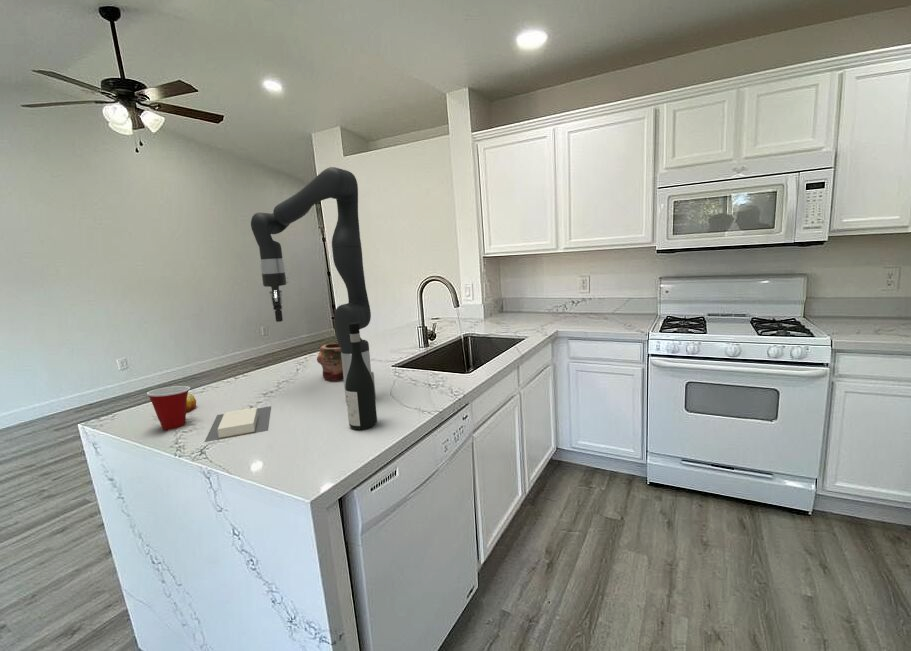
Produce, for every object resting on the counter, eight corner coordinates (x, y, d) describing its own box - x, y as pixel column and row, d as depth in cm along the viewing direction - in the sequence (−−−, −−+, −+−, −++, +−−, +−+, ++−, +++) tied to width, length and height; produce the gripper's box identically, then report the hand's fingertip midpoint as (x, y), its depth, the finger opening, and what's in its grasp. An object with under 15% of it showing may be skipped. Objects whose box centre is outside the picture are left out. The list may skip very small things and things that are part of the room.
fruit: (204, 408, 143) (193, 388, 140) (172, 427, 136) (159, 406, 133) (193, 401, 150) (182, 382, 147) (161, 418, 143) (149, 399, 140)
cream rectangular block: (224, 412, 129) (217, 429, 116) (257, 407, 132) (253, 423, 120) (226, 421, 130) (219, 438, 117) (258, 415, 133) (254, 432, 120)
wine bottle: (353, 433, 117) (342, 326, 112) (346, 423, 124) (336, 323, 119) (381, 426, 121) (372, 322, 116) (373, 417, 128) (364, 319, 123)
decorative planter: (369, 375, 174) (366, 342, 171) (353, 384, 162) (349, 349, 160) (328, 373, 180) (325, 341, 178) (310, 381, 169) (306, 347, 167)
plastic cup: (203, 422, 131) (197, 385, 129) (168, 436, 122) (161, 396, 120) (181, 418, 136) (175, 382, 134) (145, 431, 126) (138, 393, 124)
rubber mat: (217, 416, 136) (217, 414, 136) (271, 407, 141) (271, 406, 141) (204, 443, 115) (204, 441, 115) (268, 432, 121) (268, 430, 121)
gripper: (284, 271, 142) (290, 322, 145) (285, 271, 155) (290, 317, 157) (260, 273, 140) (267, 325, 143) (262, 272, 152) (268, 320, 155)
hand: (279, 321), depth 150 cm, fingers closed
